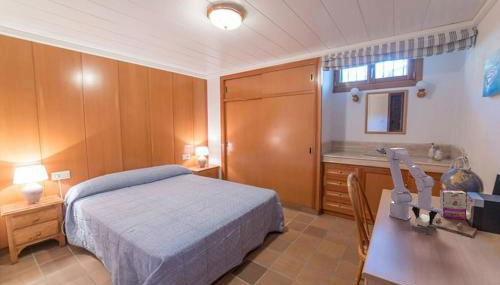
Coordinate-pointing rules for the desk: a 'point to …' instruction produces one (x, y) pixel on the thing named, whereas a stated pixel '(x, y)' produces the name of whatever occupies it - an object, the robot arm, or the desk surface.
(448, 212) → the candy bar box
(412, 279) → the desk surface
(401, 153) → the robot arm
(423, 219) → the shelf board
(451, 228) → the peg stand
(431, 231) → the battens
